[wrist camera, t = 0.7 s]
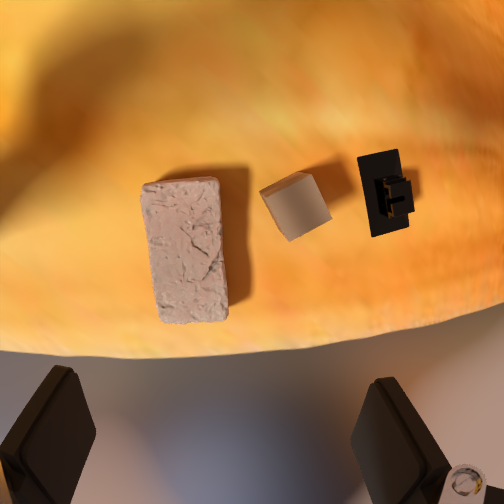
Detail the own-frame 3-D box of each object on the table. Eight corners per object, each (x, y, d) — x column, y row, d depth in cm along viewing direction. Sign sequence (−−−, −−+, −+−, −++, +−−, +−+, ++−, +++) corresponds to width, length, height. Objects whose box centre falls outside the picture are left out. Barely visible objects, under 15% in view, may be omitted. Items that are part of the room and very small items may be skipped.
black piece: (347, 147, 36) (364, 147, 31) (399, 138, 36) (420, 137, 31) (365, 248, 40) (382, 260, 35) (413, 233, 40) (433, 243, 35)
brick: (229, 307, 40) (230, 325, 36) (164, 312, 39) (158, 330, 35) (219, 174, 35) (219, 176, 31) (147, 181, 35) (137, 184, 30)
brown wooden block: (278, 229, 37) (289, 242, 32) (258, 191, 36) (266, 197, 30) (315, 209, 37) (332, 218, 31) (297, 171, 36) (311, 174, 30)
